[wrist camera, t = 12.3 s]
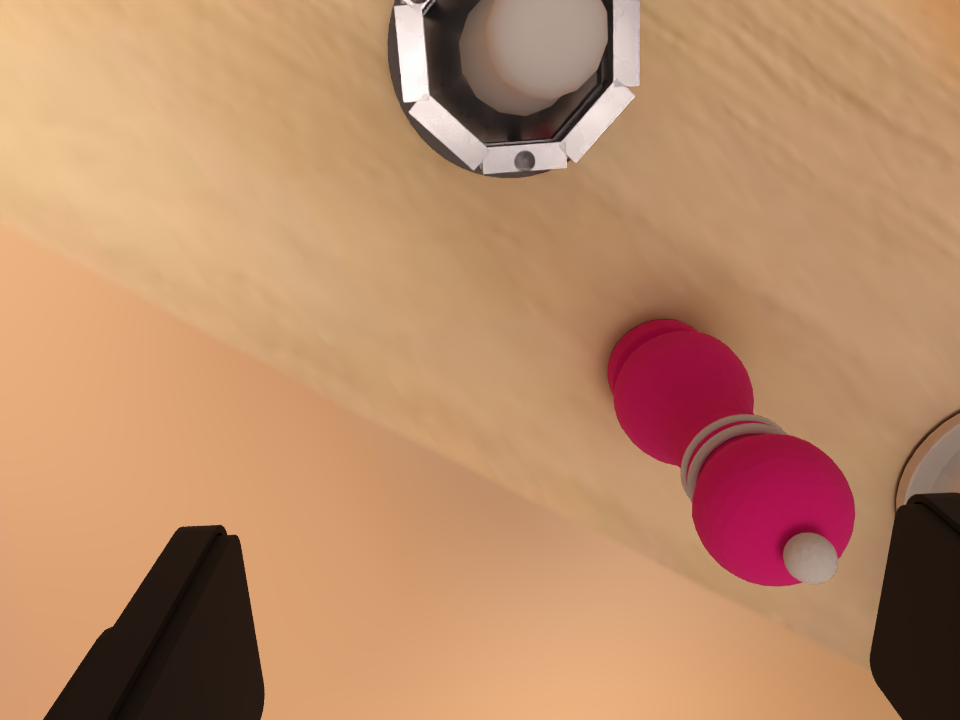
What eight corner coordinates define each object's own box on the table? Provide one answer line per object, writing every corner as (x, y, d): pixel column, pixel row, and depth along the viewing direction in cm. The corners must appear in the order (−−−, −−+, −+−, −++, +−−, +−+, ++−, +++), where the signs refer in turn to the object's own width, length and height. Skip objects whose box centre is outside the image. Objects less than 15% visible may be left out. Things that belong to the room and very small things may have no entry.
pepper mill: (596, 424, 45) (708, 662, 26) (601, 311, 42) (729, 484, 24) (712, 420, 45) (905, 653, 26) (723, 308, 43) (946, 476, 24)
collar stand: (630, -95, 35) (658, -123, 31) (629, 168, 40) (653, 177, 35) (375, -78, 35) (365, -104, 30) (401, 184, 39) (396, 196, 35)
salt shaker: (592, 74, 37) (666, 63, 25) (497, 136, 38) (523, 155, 26) (535, -36, 35) (584, -105, 23) (436, 32, 36) (433, 0, 24)
